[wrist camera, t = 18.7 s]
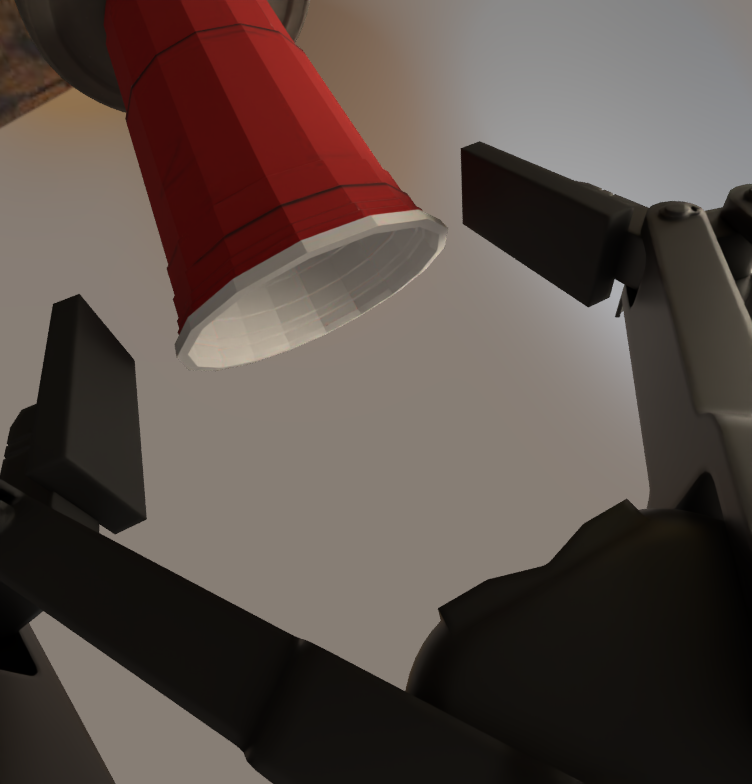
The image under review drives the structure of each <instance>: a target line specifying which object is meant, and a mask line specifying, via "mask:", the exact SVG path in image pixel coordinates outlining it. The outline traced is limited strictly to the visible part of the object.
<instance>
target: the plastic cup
mask: <svg viewBox="0 0 752 784" xmlns="http://www.w3.org/2000/svg"><path fill="white" fill-rule="evenodd" d="M104 28H105V32H106V35H107V37H106V46H107V49H108V53H109V56H110V59H111V62H112V66H113V69H114V72H115V76H116V79H117V82H118V85H119V89H120V92H121V95H122V99H123V102H124V105H125V108H126V122H127V126H128V129H129V133H130V136H131V139H132V143H133V146H134V150H135V153H136V156H137V160H138V163H139V167H140V169H141V173H142V177H143V180H144V184H145V187H146V190H147V194H148V197H149V201H150V204H151V207H152V211H153V214H154V217H155V221H156V224H157V228H158V231H159V234H160V238H161V241H162V245H163V248H164V251H165V255H166V258H167V262H168V267H167V271H168V275H169V278H170V281H171V284H172V288H173V291H174V294H175V296H174V298H173V301H174V304H175V307H176V311H177V314H178V317H179V318H178V320H177V322H178V326H179V330H178V334H179V337H178V339H177V341H176V343H175V350H176V356H177V358H178V359H179V360H180V362H181V363H182V364H183V365H184V366H185V367H186V368H187V369H188V370H200V371H218V370H223V369H228V368H232V367H237V366H241V365H247V364H251V363H254V362H257V361H260V360H263V359H266V358H268V357H272V356H274V355H278V354H281V353H284V352H286V351H289V350H291V349H294V348H296V347H298V346H300V345H303V344H305V343H307V342H310V341H312V340H314V339H316V338H319V337H321V336H323V335H325V334H327V333H329V332H331V331H333V330H335V329H337V328H339V327H340V326H342V325H344V324H346V323H348V322H350V321H352V320H354V319H356V318H357V317H359V316H361V315H363V314H365V313H366V312H368V311H369V310H371V309H372V308H374V307H375V306H377V305H379V304H380V303H382V302H383V301H385V300H386V299H388V298H389V297H391V296H392V295H394V294H396V293H397V292H398V291H400V290H401V289H402V288H403V287H405V286H406V285H407V284H408V283H409V282H411V281H412V280H413V279H414V278H416V277H417V276H418V275H419V274H421V273H422V272H423V271H424V270H426V268H427V267H428V266H429V265H430V264H431V262H432V261H433V260H434V259H435V258H436V257H437V255H438V254H439V253H440V252H441V251H442V249H443V248H444V247H445V243H446V237H447V231H448V228H447V227H446V226H445V225H444V224H443V223H442V221H441V220H439V219H437V218H435V217H433V216H431V215H429V214H427V213H425V212H423V211H422V209H421V208H419V207H417V206H416V205H415V204H414V203H413V201H412V200H411V198H410V197H409V196H408V194H407V193H405V192H403V191H401V189H400V188H399V187H398V185H397V184H396V182H395V181H394V179H393V178H392V177H391V175H390V174H389V172H388V171H386V170H384V169H383V168H382V167H381V165H380V164H379V162H378V161H377V159H376V158H375V156H374V155H373V153H372V152H371V151H370V149H369V148H368V146H367V145H366V143H365V142H364V140H363V139H362V137H361V136H360V134H359V133H358V131H357V130H356V128H355V127H354V125H353V124H352V123H351V121H350V120H349V118H348V117H347V115H346V114H345V112H344V111H343V109H342V108H341V106H340V105H339V103H338V102H337V100H336V99H335V97H334V96H333V95H332V93H331V91H330V90H329V89H328V87H327V86H326V84H325V83H324V81H323V80H322V78H321V77H320V75H319V74H318V73H317V71H316V69H315V68H314V66H313V65H312V64H311V62H310V60H309V59H308V57H307V56H306V55H305V53H304V52H303V50H302V49H300V48H299V47H298V46H297V45H295V43H294V42H293V40H292V38H291V37H290V35H289V34H288V32H287V31H286V29H285V28H284V26H283V25H282V23H281V21H280V20H279V18H278V17H277V15H276V14H275V12H274V11H273V9H272V8H271V6H270V4H269V3H268V1H267V0H106V6H105V16H104Z"/></svg>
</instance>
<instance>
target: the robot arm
mask: <svg viewBox="0 0 752 784" xmlns="http://www.w3.org/2000/svg"><path fill="white" fill-rule="evenodd" d="M461 172H462V208H463V209H462V212H463V224H464V225H465V226H467V227H468V228H470V229H471V230H473V231H474V232H476V233H478V234H479V235H480V236H482V237H483V238H485V239H487V240H488V241H489V242H491V243H492V244H494V245H495V246H497V247H498V248H500V249H501V250H503V251H504V252H506V253H507V254H509V255H511V256H512V257H513V258H515V259H516V260H518V261H519V262H521V263H522V264H524V265H525V266H527V267H528V268H530V269H531V270H533V271H535V272H536V273H537V274H539V275H540V276H542V277H543V278H545V279H546V280H548V281H549V282H551V283H553V284H554V285H556V286H557V287H558V288H560V289H561V290H563V291H565V292H566V293H567V294H569V295H571V296H572V297H573V298H575V299H576V300H578V301H579V302H581V303H582V304H584V305H585V306H587V307H590V306H592V305H594V304H597V303H599V302H601V301H603V300H605V299H607V298H609V297H610V293H611V290H612V286H613V283H614V279H616V280H618V281H620V282H621V283H623V284H625V285H624V288H623V291H622V295H621V298H620V301H619V305H618V308H617V312H616V316H615V317H620V314H621V312H622V311H624V317H625V323H626V330H627V337H628V344H629V351H630V357H631V364H632V371H633V378H634V384H635V390H636V398H637V404H638V411H639V418H640V424H641V431H642V438H643V445H644V452H645V457H646V465H647V471H648V478H649V487H650V494H649V501H648V506H647V509H642V510H638V509H637V508H636V507H635V506H634V505H633V504H632V503H631V502H630V501H629V500H628V499H626V500H624V501H622V502H620V503H618V504H617V505H615V506H613V507H612V508H610V509H608V510H606V511H605V512H603V513H601V514H600V515H598V516H596V517H594V518H593V519H591V520H589V521H588V522H586V523H584V524H583V525H582V526H581V527H580V529H578V531H577V532H576V533H575V534H574V535H573V536H572V537H571V539H570V540H569V541H568V542H567V543H566V545H564V546H563V548H562V549H561V550H560V551H559V552H558V553H557V554H556V555H555V557H554V558H553V559H552V560H551V561H550V562H549V563H548V564H546V565H544V566H541V567H537V568H533V569H529V570H525V571H521V572H517V573H513V574H508V575H505V576H500V577H496V578H492V579H488V580H486V581H484V582H483V583H481V584H479V585H477V586H476V587H474V588H472V589H470V590H469V591H467V592H465V593H464V594H462V595H460V596H458V597H457V598H455V599H453V600H452V601H450V602H448V603H446V604H445V605H443V606H441V607H440V608H438V610H439V615H440V619H441V621H440V622H439V624H438V625H437V626H436V627H435V628H434V630H432V632H431V633H430V634H429V636H428V637H427V639H426V640H425V642H424V643H423V645H422V647H421V649H420V651H419V653H418V655H417V656H416V658H415V661H414V664H413V666H412V669H411V671H410V674H409V679H408V682H407V686H406V691H403V690H401V689H399V688H398V687H396V686H394V685H392V684H390V683H388V682H386V681H384V680H382V679H380V678H379V677H376V676H375V675H373V674H371V673H369V672H367V671H365V670H363V669H361V668H359V667H358V666H356V665H354V664H352V663H350V662H348V661H346V660H344V659H342V658H340V657H339V656H337V655H335V654H333V653H331V652H329V651H327V650H325V649H323V648H321V647H319V646H317V645H315V644H313V643H311V642H309V641H306V640H304V639H300V638H297V637H295V636H293V635H291V634H289V633H287V632H285V631H283V630H282V629H279V628H278V627H276V626H274V625H272V624H270V623H268V622H266V621H265V620H263V619H261V618H259V617H257V616H255V615H253V614H251V613H249V612H247V611H245V610H244V609H242V608H240V607H238V606H236V605H234V604H232V603H230V602H228V601H227V600H225V599H223V598H221V597H219V596H217V595H215V594H213V593H211V592H210V591H207V590H206V589H204V588H202V587H200V586H198V585H196V584H194V583H192V582H191V581H189V580H187V579H185V578H183V577H181V576H179V575H177V574H175V573H174V572H172V571H170V570H168V569H166V568H164V567H162V566H160V565H158V564H157V563H155V562H153V561H151V560H149V559H147V558H145V557H143V556H141V555H140V554H137V553H136V552H134V551H132V550H130V549H128V548H126V547H124V546H122V545H121V544H119V543H117V542H115V541H113V540H111V539H109V538H107V537H105V536H104V535H102V534H100V533H99V524H100V525H102V526H103V527H105V528H106V529H108V530H109V531H111V532H112V533H114V534H117V533H119V532H121V531H123V530H125V529H127V528H129V527H132V526H134V525H136V524H138V523H140V522H142V521H144V520H146V519H147V518H146V505H145V492H144V479H143V466H142V453H141V441H140V427H139V414H138V401H137V388H136V376H135V375H136V374H135V361H134V359H133V358H132V357H131V355H130V354H129V353H128V352H127V351H126V349H125V348H124V347H123V346H122V345H121V343H120V342H119V341H118V340H117V339H116V338H115V336H114V335H113V334H112V333H111V332H110V330H109V329H108V328H107V327H106V325H105V324H104V323H103V322H102V321H101V319H100V318H99V317H98V316H97V315H96V313H95V312H94V311H93V310H92V308H91V307H90V306H89V305H88V304H87V302H86V301H85V300H84V299H83V298H82V297H81V295H80V294H78V295H75V296H73V297H70V298H67V299H65V300H62V301H60V302H57V303H54V304H53V307H52V313H51V320H50V326H49V332H48V338H47V344H46V350H45V356H44V362H43V368H42V374H41V380H40V386H39V392H38V398H37V404H35V405H32V406H30V407H28V408H25V409H23V410H21V412H20V414H19V415H18V416H17V418H16V420H15V421H14V423H13V424H12V426H11V427H10V431H9V436H8V441H7V444H8V446H6V450H5V455H4V457H5V459H4V460H3V464H2V468H1V473H0V784H115V782H114V780H113V778H112V776H111V774H110V773H109V771H108V769H107V767H106V765H105V763H104V761H103V760H102V758H101V756H100V754H99V752H98V751H97V748H96V747H95V745H94V743H93V741H92V740H91V737H90V735H89V734H88V732H87V730H86V728H85V727H84V725H83V723H82V721H81V719H80V717H79V715H78V713H77V712H76V710H75V708H74V706H73V704H72V702H71V700H70V699H69V697H68V695H67V693H66V691H65V689H64V687H63V686H62V684H61V682H60V680H59V679H58V676H57V675H56V673H55V671H54V669H53V667H52V665H51V663H50V662H49V660H48V658H47V656H46V654H45V652H44V650H43V648H42V647H41V645H40V643H39V641H38V639H37V638H36V635H35V634H34V632H33V630H32V628H31V626H30V624H29V622H30V621H32V619H34V618H35V617H36V616H38V615H39V614H40V613H41V612H42V611H44V612H46V613H47V614H49V615H50V616H52V617H53V618H55V619H56V620H57V621H59V622H60V623H62V624H63V625H64V626H66V627H67V628H69V629H70V630H72V631H73V632H74V633H76V634H77V635H79V636H80V637H82V638H83V639H84V640H86V641H87V642H89V643H90V644H92V645H93V646H95V647H96V648H97V649H99V650H100V651H102V652H103V653H105V654H106V655H107V656H109V657H110V658H112V659H113V660H115V661H116V662H118V663H119V664H120V665H122V666H123V667H125V668H126V669H127V670H129V671H130V672H132V673H134V674H135V675H136V676H138V677H139V678H140V679H142V680H143V681H145V682H146V683H148V684H149V685H150V686H152V687H153V688H155V689H156V690H158V691H159V692H160V693H162V694H163V695H165V696H166V697H168V698H169V699H171V700H172V701H173V702H175V703H176V704H178V705H179V706H180V707H182V708H183V709H185V710H186V711H188V712H189V713H190V714H192V715H193V716H195V717H196V718H198V719H199V720H201V721H202V722H203V723H205V724H206V725H208V726H209V727H211V728H212V729H213V730H215V731H216V732H218V733H219V734H221V735H222V736H224V737H225V738H226V739H228V740H230V741H231V742H232V743H234V744H235V745H236V746H237V747H239V748H240V749H241V750H242V751H243V752H244V755H245V757H246V760H247V762H248V763H249V764H250V765H251V766H252V767H253V768H254V769H255V770H256V771H257V772H259V773H260V774H261V775H262V776H264V777H265V778H266V779H268V780H269V781H270V782H272V783H273V784H752V184H746V185H741V186H738V187H735V188H733V189H732V190H730V192H729V194H728V196H727V199H726V201H725V203H724V206H723V207H722V208H717V209H712V210H707V211H704V210H703V209H702V208H701V207H699V206H697V205H694V204H691V203H687V202H680V201H678V202H677V201H668V202H661V203H658V204H655V205H652V206H651V207H650V208H648V207H645V206H643V205H640V204H638V203H636V202H633V201H631V200H628V199H626V198H623V197H621V196H618V195H616V194H615V195H613V194H612V193H611V192H609V191H606V190H602V189H601V188H599V187H596V186H594V185H591V184H589V183H585V182H578V181H574V180H571V179H569V178H566V177H564V176H562V175H559V174H557V173H555V172H552V171H550V170H547V169H545V168H542V167H540V166H538V165H535V164H533V163H530V162H528V161H526V160H523V159H521V158H518V157H516V156H514V155H511V154H509V153H506V152H504V151H502V150H499V149H497V148H494V147H492V146H490V145H487V144H485V143H482V142H477V143H474V144H471V145H469V146H466V147H464V148H461Z"/></svg>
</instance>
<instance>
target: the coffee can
mask: <svg viewBox="0 0 752 784" xmlns="http://www.w3.org/2000/svg"><path fill="white" fill-rule="evenodd" d="M267 1H268V3H269V4H270V6H271V8H272V9H273V11H274V12H275V14H276V15H277V17H278V18H279V20H280V21H281V23H282V25H283V26H284V28H285V29H286V31H287V32H288V34H289V35H290V37H291V38H292V40H293V42H294V43H295V42H296V40H297V38H298V36H299V34H300V32H301V29H302V27H303V24H304V21H305V18H306V15H307V11H308V7H309V4H310V0H267ZM15 3H16V5H17V8H18V10H19V13H20V15H21V18H22V20H23V22H24V24H25V27H26V29H27V31H28V33H29V35H30V37H31V39H32V40H33V42H34V44H35V45H36V47H37V49H38V50H39V52H40V53H41V55H42V56H43V58H44V59H45V60H46V61H47V63H48V64H49V65H50V66H51V67H52V68H53V69H54V70H55V71H56V72H57V73H58V74H59V75H60V77H61V78H63V79H64V80H65V81H67V82H68V83H69V84H70V85H72V86H73V87H74V88H76V89H77V90H79V91H80V92H82V93H83V94H85V95H87V96H88V97H90V98H92V99H94V100H96V101H98V102H99V103H102V104H104V105H106V106H109V107H111V108H114V109H116V110H119V111H122V112H126V108H125V105H124V102H123V99H122V95H121V92H120V89H119V85H118V82H117V79H116V76H115V72H114V69H113V66H112V62H111V59H110V56H109V53H108V49H107V46H106V37H107V35H106V32H105V28H104V16H105V6H106V0H15Z"/></svg>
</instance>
